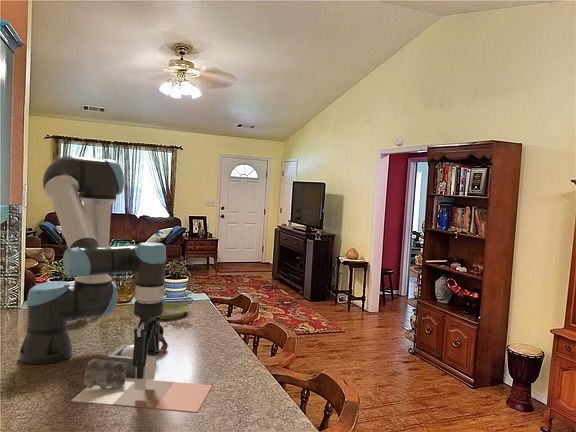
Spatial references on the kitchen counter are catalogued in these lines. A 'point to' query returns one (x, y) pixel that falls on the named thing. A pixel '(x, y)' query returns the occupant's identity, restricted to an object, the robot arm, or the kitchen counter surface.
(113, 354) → the housing
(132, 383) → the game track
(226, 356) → the kitchen counter surface
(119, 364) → the egg carton
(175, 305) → the saucer
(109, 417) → the kitchen counter surface
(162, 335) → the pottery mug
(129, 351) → the cream ball
